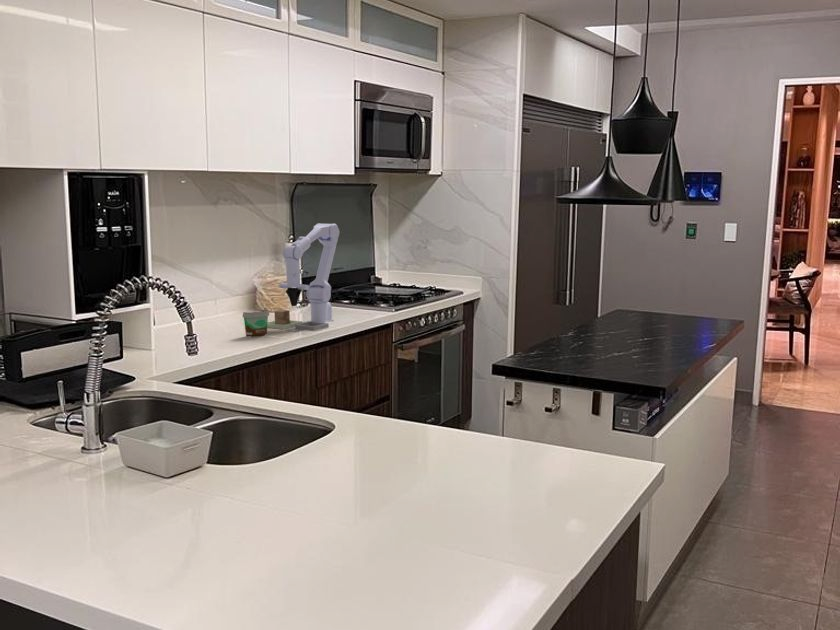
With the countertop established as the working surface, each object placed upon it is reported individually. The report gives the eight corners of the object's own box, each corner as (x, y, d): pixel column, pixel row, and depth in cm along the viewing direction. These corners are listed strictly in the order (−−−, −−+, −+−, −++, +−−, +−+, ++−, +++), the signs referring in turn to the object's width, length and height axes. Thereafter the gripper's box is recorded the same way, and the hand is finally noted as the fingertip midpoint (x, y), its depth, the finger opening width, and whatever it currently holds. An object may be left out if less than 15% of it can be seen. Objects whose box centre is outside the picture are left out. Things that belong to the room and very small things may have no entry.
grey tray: (309, 326, 359) (309, 321, 359) (328, 327, 354) (328, 323, 354) (295, 329, 351) (295, 324, 351) (314, 331, 346) (313, 326, 346)
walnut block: (281, 324, 361) (281, 309, 360) (289, 325, 358) (289, 310, 357) (274, 326, 357) (274, 311, 356) (283, 327, 354) (282, 311, 353)
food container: (253, 338, 331) (252, 313, 330) (243, 336, 335) (242, 312, 334) (276, 333, 341) (275, 309, 340) (266, 332, 345) (265, 308, 343)
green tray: (280, 323, 366) (280, 319, 365) (302, 326, 360) (302, 321, 359) (262, 327, 355) (262, 323, 355) (284, 330, 349) (284, 325, 349)
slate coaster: (293, 329, 350) (293, 328, 350) (304, 331, 347) (304, 329, 347) (284, 332, 345) (284, 330, 345) (295, 333, 342) (295, 331, 342)
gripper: (273, 274, 352) (274, 305, 354) (301, 275, 345) (302, 308, 347) (284, 272, 358) (285, 303, 360) (311, 274, 351) (312, 306, 353)
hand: (294, 305), depth 354 cm, fingers closed
